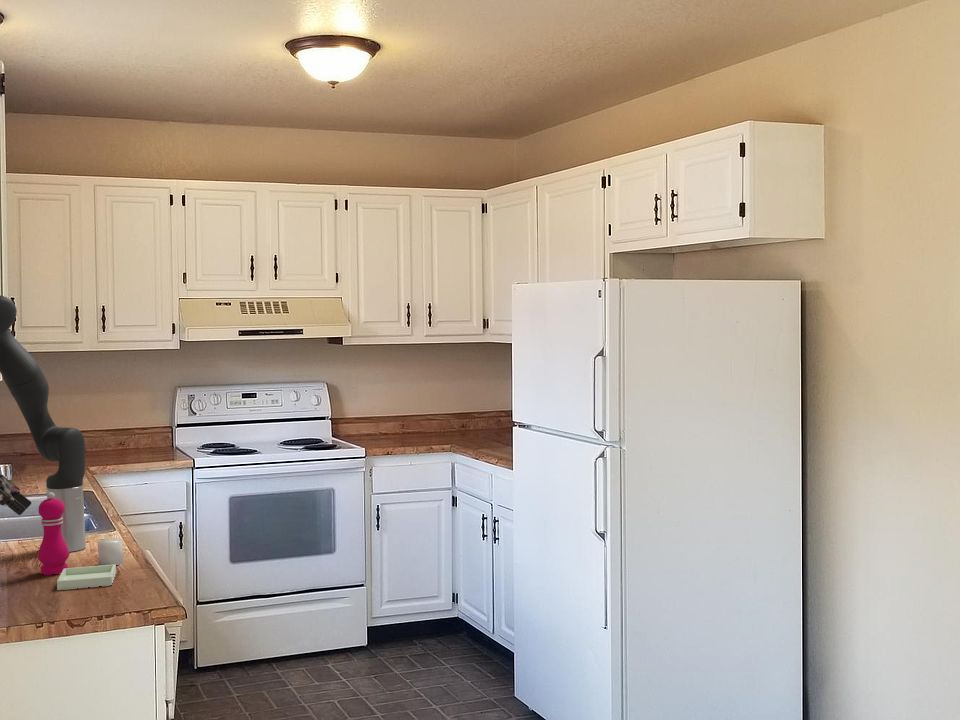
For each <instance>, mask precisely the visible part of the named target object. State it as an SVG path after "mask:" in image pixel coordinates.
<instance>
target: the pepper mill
mask: <svg viewBox="0 0 960 720" xmlns="http://www.w3.org/2000/svg"><path fill="white" fill-rule="evenodd" d="M54 497H55V494H54V493H52V492H50V493H48V494H47V493H46V499H44V500H42V501H40V503H39V505H38V510H37V511H38V514H39V515H40V517H41V519H40V521H41V523H40V524H41V525H42V529H43V537H42V540H41V543H40V545H39V548H38V551H37V559H38V561H39V562H40V563H41V564H42V565H41V566H40V574H41V575H42V574H44V575H43V576H53V575H52V574H58V573H62V571H63V569H64V568H69V565H68V563H66V561H67V560H68V559H69V557H70V552H69V549H68V547H67V544H66V543H65V541H64V539H63V536H62V532H61V524H62V523H63V521H62V519H63V518H62V517H61V516H62V514H63V513H64V509H65V508H64V504H63V502H62V501H61V500H59V499H55V498H54ZM47 498H48V499H47ZM58 575H59V574H58Z"/></svg>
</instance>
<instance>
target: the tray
mask: <svg viewBox="0 0 960 720" xmlns="http://www.w3.org/2000/svg"><path fill="white" fill-rule="evenodd" d="M115 574H116V575H117V566H116V564H113V565H101V566H99V565H91V566H77V567H68V568H64V569H63V571H62V573H61V574H59V577H58V579H57V580H56V587H57V588H56V591H63V590H64V591H65V590H66V591H67V590H75V589H77V588H78V589H87V588H88V587H90V588H99V586H102V587H111V586H110V585H112V586H113V584H114V581H115V578H116V575H115ZM114 577H115V578H114ZM113 580H114V581H113ZM112 583H113V584H112ZM78 589H77V590H78ZM88 589H89V588H88Z"/></svg>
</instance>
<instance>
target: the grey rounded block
mask: <svg viewBox="0 0 960 720" xmlns="http://www.w3.org/2000/svg"><path fill="white" fill-rule="evenodd" d="M97 554H98V556H97V557H98V558H97V561H98V564H97V566H101V565H113V564H116V565H120V564H122V563H123V564H124V541H123V539H121V538H105V539H101V540H98V541H97ZM123 564H122V565H123ZM120 566H121V565H120Z"/></svg>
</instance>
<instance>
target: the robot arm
mask: <svg viewBox="0 0 960 720" xmlns="http://www.w3.org/2000/svg"><path fill="white" fill-rule="evenodd" d="M17 313H18V311H17V306H16V305H15V303H14V301H13V300H12V299H11V298H9V297H7V296H5V295H0V375H1V377H2V379H3V381H4V383H5V384H6V387H7V388H8V390H9V392H10V394H11V395H12V397H13V399H14V401H15V402H16V404H17V406H18V408H19V410H20V412H21V414H22V416H23V418H24V420H25V422H26V424H27V426H28V429H29V431H30V434H31V437H32V439H33V441H34V444H35V447H36V449H37V450H38V452H39V454H40V456H41V457H42V458H44V459H45V460H46V461H50V462H58V469H57V471H56V472H55V473H53V474H51V475H49V476H48V477H47V478H46V480H45V483H46V486H45V487H46V495H47V494H48V493H50V492H52V493H54V494H55V497H54V498H55V499H59V500H61V501H62V502H63V504H64V508H65V509H64V513H63V514H62V516H61V517H62V518H63V519H62V521H63V523H62V524H61V532H62V536H63V539H64V541H65V543H66V544H67V547H68V549H69V553H71V552H76V551H81V550H83V549H86V546H87V545H86V544H87V543H86V527H85V524H86V523H85V506H84V505H85V503H84V486H83V485H84V484H83V483H84V478H85V477H84V476H85V472H86V440H85V437H84V435H83V433H82V431H81V430H80V429H78V428H75V427H63V426H62V427H58V426H57V425H56V424H55V422H54V420H53V419H52V417H51V414H50V412H49V409H48V408H49V407H48V401H49V395H50V393H49V392H50V391H49V390H50V388H49V387H50V386H49V383H48V381H47V378H46V376H45V374H44V371H42V369H41V367H40V365H39V363H38V362H37V361H36V359H35V358H34V357H33V356H32V355H31V353H30V352H29V351H28V350H27V349H26V348H25V347H24V346H23V345H22V344H21V343H20V342H19V341H18V340H17V339H16V338H15V336H14V335H13V333H12V332H11V330H10V328H11V327H12V325H13V324H14V323H15V322H16V321H15V320H16V317H17ZM46 499H48V498H47V497H46ZM0 505H1V506H3V507H4V506H5V507H7V508H9V509H10V510H12V511H13V512H14V514H17V515H18V516H21V515H23V513H25V511H26V510H28V508H29V507H30V506H31V505H32V501H31V500H30V499H28V498H27V497H26V496H25V495H24V494H22V493H21V490H20V487H19V486H17V485H15V483H13V482H12V481H11V480H9V478H7V477H6V476H5V475H3V474H0Z"/></svg>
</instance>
